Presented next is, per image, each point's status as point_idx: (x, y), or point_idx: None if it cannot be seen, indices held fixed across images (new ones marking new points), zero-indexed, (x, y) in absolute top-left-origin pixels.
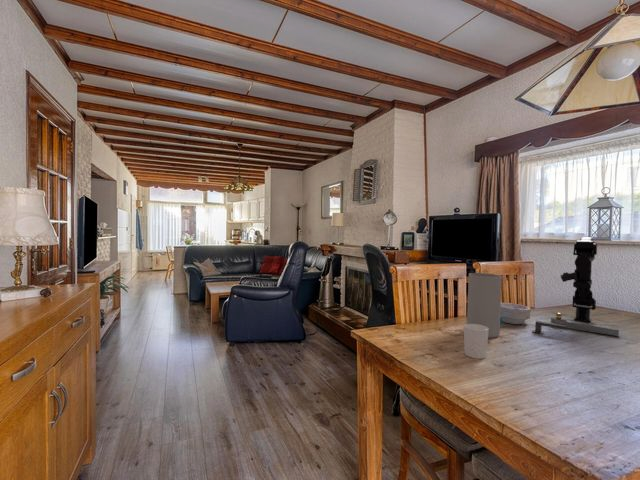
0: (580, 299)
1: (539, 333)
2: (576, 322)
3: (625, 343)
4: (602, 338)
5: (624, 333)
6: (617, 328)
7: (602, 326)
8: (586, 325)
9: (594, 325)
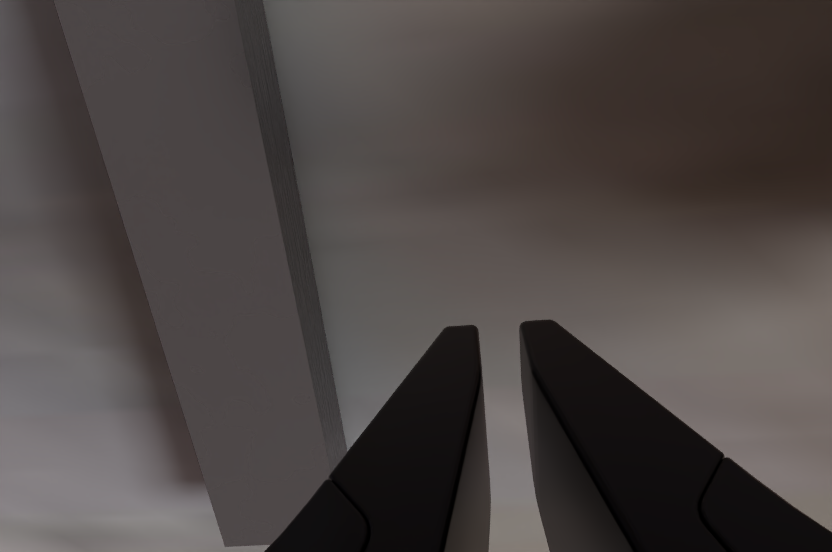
0: (427, 357)
1: None
2: (180, 111)
3: (38, 529)
4: (15, 378)
5: (509, 511)
6: None
7: (263, 415)
8: (137, 253)
9: (223, 339)
